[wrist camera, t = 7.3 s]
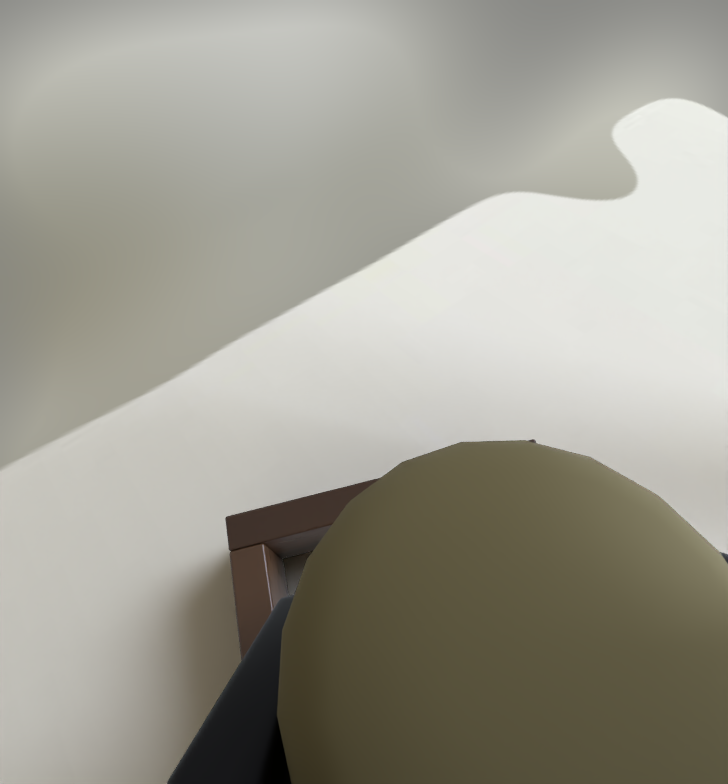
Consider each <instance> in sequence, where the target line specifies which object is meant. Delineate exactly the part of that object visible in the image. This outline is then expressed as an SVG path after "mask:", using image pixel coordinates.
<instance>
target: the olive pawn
mask: <svg viewBox="0 0 728 784" xmlns="http://www.w3.org/2000/svg"><path fill="white" fill-rule="evenodd" d="M277 718H278V723H279V728H280V732H281V737H282V742H283V747H284V751H285V756H286V761H287V766H288V770H289V775H290V780H291V784H728V564H727V562H726V561H725V559H724V558H723V556H722V555H721V553H720V552H719V551H718V550H717V549H716V548H714V547H713V546H712V545H711V544H710V543H709V542H708V541H707V540H706V539H705V538H704V537H703V536H702V535H700V534H699V533H698V532H697V531H696V530H695V529H694V528H693V527H692V526H691V525H690V524H689V523H688V522H687V521H685V520H684V519H683V518H682V517H681V516H680V515H679V514H678V513H677V512H676V511H675V510H674V509H673V508H671V507H670V506H669V505H668V504H667V503H666V502H665V501H664V500H663V499H662V498H660V497H659V496H658V495H656V494H655V493H653V492H652V491H650V490H648V489H646V488H644V487H643V486H641V485H639V484H637V483H635V482H634V481H632V480H630V479H628V478H627V477H625V476H623V475H621V474H619V473H618V472H616V471H614V470H612V469H610V468H609V467H607V466H605V465H603V464H601V463H600V462H598V461H596V460H594V459H592V458H591V457H587V456H584V455H580V454H576V453H572V452H568V451H564V450H560V449H556V448H552V447H549V446H545V445H541V444H537V443H533V442H529V441H525V440H520V441H483V442H460V443H457V444H454V445H451V446H448V447H445V448H442V449H439V450H436V451H434V452H431V453H428V454H425V455H422V456H419V457H416V458H413V459H410V460H407V461H404V462H402V463H400V464H399V465H398V466H396V467H395V468H394V469H392V470H391V471H390V472H388V473H387V474H386V475H384V476H383V477H381V478H380V479H379V480H377V481H376V482H375V483H373V484H372V485H371V486H369V487H368V488H367V489H365V490H364V491H363V492H361V493H360V494H358V495H357V496H356V497H354V498H353V499H352V500H350V502H349V503H348V504H347V505H346V506H345V508H344V509H343V510H342V512H341V513H340V515H339V516H338V517H337V519H336V520H335V521H334V523H333V524H332V526H331V527H330V528H329V530H328V531H327V532H326V534H325V535H324V537H323V538H322V539H321V541H320V542H319V543H318V545H317V546H316V548H315V549H314V550H313V552H312V553H311V555H310V556H309V557H308V559H307V561H306V563H305V566H304V569H303V572H302V575H301V578H300V581H299V583H298V586H297V589H296V592H295V595H294V598H293V601H292V603H291V606H290V609H289V612H288V615H287V618H286V621H285V623H284V626H283V629H282V639H281V656H280V672H279V689H278V705H277Z"/></svg>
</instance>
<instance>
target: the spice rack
mask: <svg viewBox="0 0 728 784" xmlns="http://www.w3.org/2000/svg"><path fill="white" fill-rule="evenodd" d="M529 442H533V443H536V441H535V440H529ZM379 479H380V478H378V479H374V480H370V481H366V482H362V483H358V484H354V485H350V486H346V487H342V488H338V489H334V490H330V491H326V492H322V493H318V494H314V495H310V496H306V497H302V498H298V499H294V500H291V501H287V502H283V503H279V504H275V505H271V506H267V507H263V508H259V509H255V510H251V511H247V512H243V513H239V514H235V515H231V516H227V517H226V527H227V536H228V545H229V550H230V551H231V552H230V562H231V571H232V580H233V589H234V597H235V606H236V615H237V624H238V633H239V642H240V651H241V660H242V659H243V658H244V656H245V655H246V653H247V651H248V650H249V648H250V646H251V645H252V643H253V642H254V640H255V638H256V637H257V635H258V633H259V632H260V630H261V629H262V627H263V625H264V624H265V622H266V620H267V619H268V617H269V616H270V614H271V612H272V611H273V609H274V607H275V606H276V604H277V602H278V601H279V600H280V599H281V598H283V597H286V596H289V594H288V588H287V581H286V575H285V569H284V563H283V560H282V559H284V558H288V557H291V556H295V555H299V554H303V553H307V552H311V551H313V550H314V549H315V548H316V546H317V545H318V543H319V542H320V541H321V539H322V538H323V537H324V535H325V534H326V532H327V531H328V530H329V528H330V527H331V526H332V524H333V523H334V521H335V520H336V519H337V517H338V516H339V515H340V513H341V512H342V510H343V509H344V508H345V506H346V505H347V504H348V503H349V502H350V500H352V499H353V498H354V497H356V496H357V495H358V494H360V493H361V492H363V491H364V490H365V489H367V488H368V487H369V486H371V485H372V484H373V483H375V482H376V481H377V480H379Z"/></svg>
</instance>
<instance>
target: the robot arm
mask: <svg viewBox="0 0 728 784" xmlns="http://www.w3.org/2000/svg"><path fill="white" fill-rule="evenodd" d="M720 553H721V552H720ZM721 555H722V556H723V558H724V559H725V561H726V562H727V564H728V554H725V553H721ZM294 595H295V594H294ZM294 595H290V596H286V597H283V598H281V599H280V600H279V601H278V602H277V604H276V606H275V607H274V609H273V611H272V612H271V614H270V616H269V617H268V619H267V620H266V622H265V624H264V625H263V627H262V629H261V630H260V632H259V633H258V635H257V637H256V638H255V640H254V642H253V643H252V645H251V646H250V648H249V650H248V651H247V653H246V655H245V656H244V658H243V659H242V661H241V663H240V664H239V666H238V668H237V669H236V671H235V673H234V674H233V676H232V677H231V679H230V681H229V682H228V684H227V686H226V687H225V689H224V690H223V692H222V694H221V695H220V697H219V699H218V700H217V702H216V703H215V705H214V707H213V708H212V710H211V712H210V713H209V715H208V716H207V718H206V720H205V721H204V723H203V725H202V726H201V728H200V730H199V731H198V733H197V734H196V736H195V738H194V739H193V741H192V743H191V744H190V746H189V747H188V749H187V751H186V752H185V754H184V756H183V757H182V759H181V760H180V762H179V764H178V765H177V767H176V769H175V770H174V772H173V774H172V775H171V777H170V778H169V780H168V782H167V784H291V780H290V775H289V770H288V766H287V761H286V756H285V751H284V747H283V742H282V737H281V732H280V728H279V723H278V718H277V705H278V689H279V672H280V656H281V639H282V629H283V626H284V623H285V621H286V618H287V615H288V612H289V609H290V606H291V603H292V601H293V598H294Z"/></svg>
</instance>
